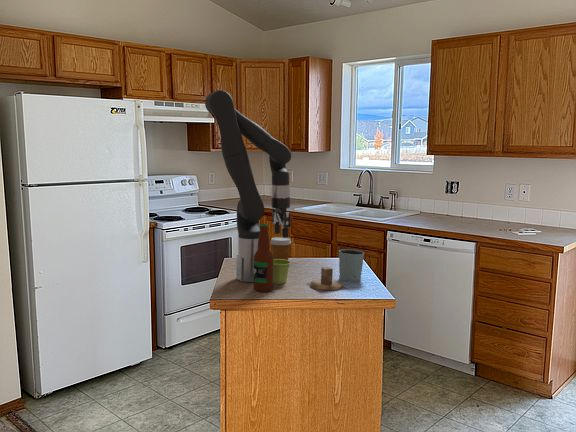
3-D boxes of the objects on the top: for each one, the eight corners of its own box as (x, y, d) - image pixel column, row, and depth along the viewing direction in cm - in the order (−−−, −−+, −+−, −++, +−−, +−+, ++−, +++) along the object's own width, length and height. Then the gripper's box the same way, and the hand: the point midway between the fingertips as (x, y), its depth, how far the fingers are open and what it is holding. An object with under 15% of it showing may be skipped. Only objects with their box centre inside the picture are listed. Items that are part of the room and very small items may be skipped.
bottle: (251, 287, 198) (252, 222, 194) (269, 286, 200) (270, 222, 197) (256, 293, 191) (256, 225, 187) (275, 292, 193) (276, 225, 190)
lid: (319, 292, 192) (319, 273, 191) (305, 283, 203) (306, 265, 202) (347, 289, 197) (348, 270, 196) (333, 281, 208) (333, 263, 207)
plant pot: (293, 281, 208) (294, 260, 207) (285, 287, 200) (286, 265, 198) (271, 279, 211) (272, 258, 210) (262, 284, 203) (263, 263, 201)
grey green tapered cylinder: (335, 277, 216) (336, 248, 215) (359, 277, 217) (361, 248, 216) (340, 283, 206) (341, 254, 205) (365, 283, 207) (367, 254, 206)
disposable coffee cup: (283, 268, 229) (283, 241, 227) (265, 265, 234) (266, 239, 232) (294, 264, 237) (295, 238, 235) (277, 261, 242) (278, 236, 240)
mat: (319, 293, 192) (319, 292, 192) (305, 285, 203) (305, 283, 203) (347, 290, 197) (347, 289, 197) (333, 282, 208) (333, 281, 208)
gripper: (265, 194, 215) (266, 233, 218) (278, 198, 202) (279, 239, 205) (282, 193, 218) (282, 231, 221) (296, 197, 205) (296, 237, 208)
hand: (281, 235), depth 213 cm, fingers open, 8 cm apart
